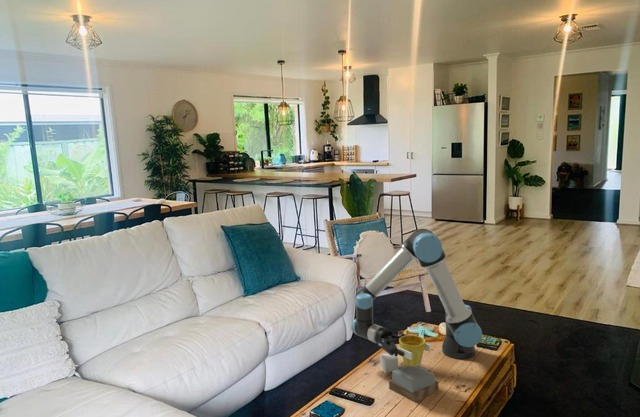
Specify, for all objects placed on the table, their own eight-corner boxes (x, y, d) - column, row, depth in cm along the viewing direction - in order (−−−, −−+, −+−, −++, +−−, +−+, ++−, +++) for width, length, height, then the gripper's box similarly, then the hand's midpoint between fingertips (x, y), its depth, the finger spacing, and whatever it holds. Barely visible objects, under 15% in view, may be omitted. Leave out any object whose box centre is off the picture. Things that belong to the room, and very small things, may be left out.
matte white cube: (380, 366, 208) (380, 354, 208) (393, 364, 210) (392, 352, 209) (385, 372, 202) (385, 359, 202) (398, 370, 204) (398, 358, 203)
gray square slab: (414, 371, 195) (413, 363, 194) (434, 383, 185) (434, 374, 184) (392, 380, 189) (392, 371, 188) (412, 392, 179) (412, 383, 178)
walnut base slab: (411, 378, 197) (411, 369, 197) (438, 391, 186) (438, 382, 186) (389, 390, 189) (388, 380, 188) (415, 404, 178) (415, 394, 177)
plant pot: (425, 369, 180) (425, 346, 179) (399, 368, 182) (398, 344, 181) (425, 357, 190) (425, 335, 189) (399, 356, 192) (399, 334, 191)
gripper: (398, 336, 207) (438, 352, 189) (361, 351, 193) (401, 370, 175) (398, 320, 206) (438, 335, 188) (360, 334, 192) (401, 351, 175)
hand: (420, 352), depth 182 cm, fingers closed on plant pot, 10 cm apart
